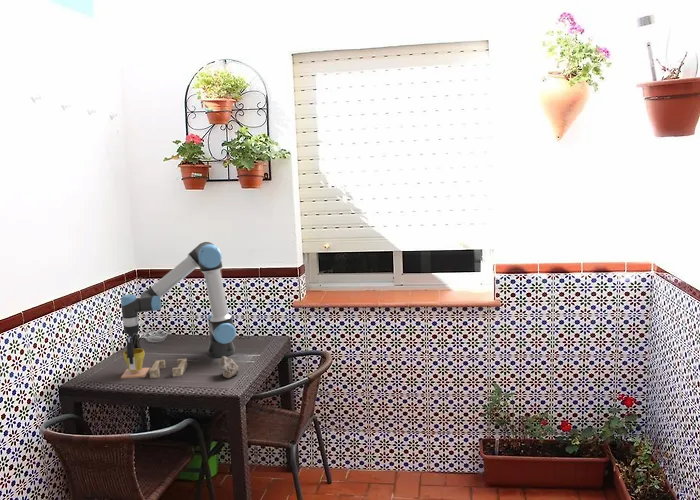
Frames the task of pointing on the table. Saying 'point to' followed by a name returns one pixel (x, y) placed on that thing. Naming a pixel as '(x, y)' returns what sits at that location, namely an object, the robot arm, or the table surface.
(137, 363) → the plant pot
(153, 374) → the flower pot holder
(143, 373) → the tile
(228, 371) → the rock
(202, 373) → the table surface
